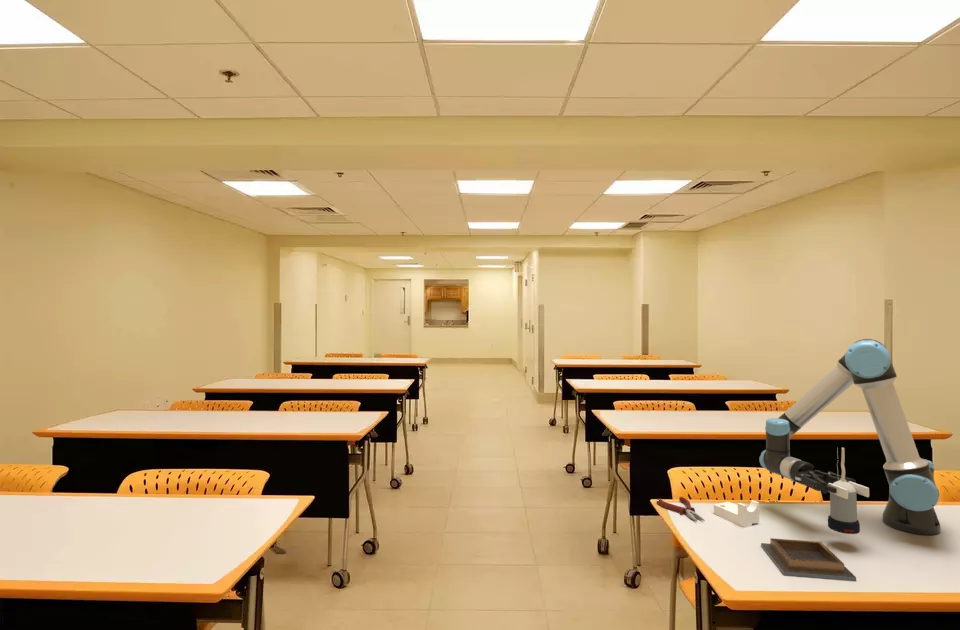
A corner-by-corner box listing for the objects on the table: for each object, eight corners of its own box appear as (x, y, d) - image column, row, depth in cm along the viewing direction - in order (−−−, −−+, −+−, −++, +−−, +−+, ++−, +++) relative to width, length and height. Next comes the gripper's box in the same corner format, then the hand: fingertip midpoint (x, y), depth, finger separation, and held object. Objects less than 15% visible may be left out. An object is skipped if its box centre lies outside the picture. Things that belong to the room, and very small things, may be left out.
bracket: (759, 524, 180) (759, 502, 180) (744, 528, 177) (744, 505, 177) (728, 511, 192) (728, 490, 192) (713, 514, 190) (713, 493, 189)
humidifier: (847, 535, 158) (846, 452, 157) (821, 525, 165) (820, 446, 165) (866, 531, 160) (865, 449, 160) (840, 521, 168) (838, 443, 168)
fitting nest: (825, 550, 160) (825, 539, 160) (856, 581, 142) (856, 568, 142) (761, 546, 163) (761, 535, 163) (783, 575, 146) (783, 562, 146)
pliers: (685, 525, 180) (685, 518, 180) (655, 504, 200) (655, 497, 200) (715, 523, 182) (715, 515, 182) (682, 502, 202) (682, 495, 202)
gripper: (823, 480, 182) (885, 503, 159) (773, 484, 179) (829, 508, 156) (823, 458, 182) (885, 478, 159) (773, 461, 179) (828, 483, 156)
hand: (857, 493), depth 158 cm, fingers closed on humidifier, 7 cm apart
